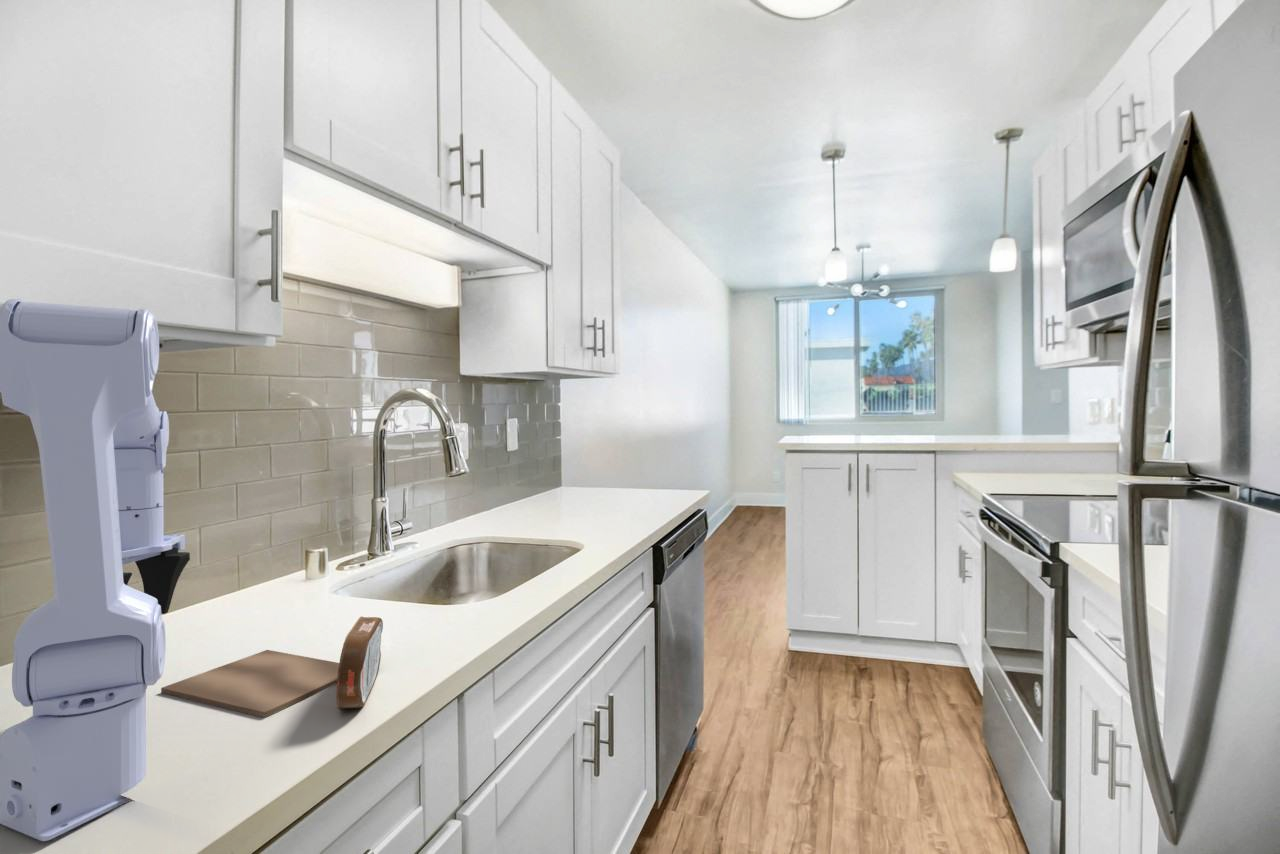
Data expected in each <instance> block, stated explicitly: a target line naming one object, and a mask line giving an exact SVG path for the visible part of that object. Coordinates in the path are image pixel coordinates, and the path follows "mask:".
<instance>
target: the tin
mask: <svg viewBox="0 0 1280 854" xmlns="http://www.w3.org/2000/svg"><path fill="white" fill-rule="evenodd" d="M383 629H384V621H383V619H382V618H381V617H377V616H375V617H373V616H372V617H371V616H370V617H369V616H368V617H364V616H359V618H358V619H357V621H355V623H354V625H353V627H352V628H351V629H350V630H349V632H348V633H347V635H346V637H345V640H344V643H343V646H342V649H341V653H340V656H339V657H340V658H339V662H338V663H339V668H338V677H337V683H336V692H335V693H336V696H335V697H336V698H335V699H336V707H337V709H338V710H340V711H341V710H343V709H359V708H363V707H364V706H365V705H366V703H367V701H368V699H369V697H370V695H371V693H372V690H373V688H374V686H375V683H376V680H377V677H378V674H379V671H380V665H381V656H382V653H381V652H382V651H381V642H382V632H383Z"/></svg>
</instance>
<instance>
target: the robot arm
mask: <svg viewBox="0 0 1280 854" xmlns="http://www.w3.org/2000/svg"><path fill="white" fill-rule="evenodd" d="M159 361H160V336H159V326H158V322H157V318H156V316H155V315H154V314H153V313H152V312H151V311H150V310H149V309H147V308H138V309H126V308H114V307H113V308H112V307H101V306H89V305H88V306H86V305H77V304H76V305H75V304H74V305H72V304H59V303H58V304H57V303H46V302H33V301H23V300H21V299H18V298H17V299H15V298H10V299H7V300H6V301H5V302H4V303H3V304H2V305H0V393H1V399H2V402H1V403H2V405H3V406H5V407H7V408H9V409H12V410H14V411H16V412H19V413H22V414H23V415H25V416H28V417H29V418H30V422H31V425H32V428H33V433H34V435H35V438H36V441H37V446H38V452H39V461H40V462H39V463H40V470H41V471H40V472H41V479H42V489H43V490H42V491H43V499H44V507H45V517H46V525H47V535H48V543H49V544H48V545H49V554H50V563H51V564H50V565H51V572H52V574H51V575H52V582H53V583H52V584H53V592H54V597H53V598H51V599H49V600H48V601H47V602H45V603H44V604H42V605H40V606H39V607H37V608H35V609H34V610H33V611H32V612H30V613H29V614H28V615H27V616H26V617H25V618H24V620H23V622H22V624H21V625H20V626H19V628H18V629H17V632H16V635H15V637H14V640H13V662H12V670H11V688H12V695H13V697H14V699H15V700H16V701H17V702H18V703H20V704H21V706H23V707H27V708H28V707H32V715H31V716H30V717H29V718H26V719H25V720H23V721H21V722H19V723H16V724H14V725H12V726H10V727H8V728H7V729H5V730H4V731H3V732H2V734H1V736H0V825H2V826H4V827H7V828H9V829H12V830H14V831H16V832H19V833H22V834H23V835H26V836H29V837H31V838H34V839H36V840H38V841H41V842H47V841H50V840H52V839H54V838H56V837H59V836H61V835H63V834H65V833H67V832H69V831H70V830H73V829H75V828H77V827H79V826H81V825H83V824H85V823H87V822H89V821H91V820H93V819H95V818H97V817H99V816H102V815H103V814H105V813H107V812H110V811H112V810H113V809H115V808H118V807H120V806H121V805H123V804H126V803H128V802H130V801H132V800H133V799H132V798H130V797H127V796H124V795H123V794H124V793H127V792H129V791H130V790H132V789H133V788H135V787H137V785H139V784H140V783H141V782H142V781H143V780H144V779H145V777H146V775H147V693H146V692H147V688H148V686H154V685H155V684H157V682H158V681H159V680H160V679H161V678H162V677H163V674H164V669H165V664H166V663H165V661H166V649H167V647H166V646H167V645H166V641H167V639H166V625H165V621H164V620H163V615H165V614H167V613H168V612H169V609H170V606H171V602H172V601H173V600H172V599H173V595H174V594H175V593H174V592H175V589H176V588H177V587H176V586H177V584H178V582H179V579H180V577H181V574H182V572H183V570H184V569H185V567H186V566H187V564H188V563H189V561H190V559H191V556H190V555H191V552H181V551H183V550H185V549H186V534H167V535H165V534H164V531H165V530H164V529H165V528H164V527H165V525H164V517H165V516H164V511H165V510H164V504H165V503H164V468H166V466H167V450H168V447H169V441H170V422H169V421H170V420H169V416H168V412H167V410H164V411H160V409H159V407H158V406H157V404H156V400H155V397H154V394H153V388H154V383H155V377H156V374H157V373H158V369H159V363H160V362H159ZM179 551H180V552H179ZM130 563H135V565H136V566H137V569H138V572H139V575H140V578H141V582H142V586H143V591H141V590H138V589H136V588H134V587H131V586H129V585H128V583H129V581H130V580H131V577H132V575H133V573H132V572H131V571H129V572H124V570H123V569H124V568H123V566H124V565H127V564H130Z"/></svg>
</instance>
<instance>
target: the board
mask: <svg viewBox="0 0 1280 854" xmlns="http://www.w3.org/2000/svg"><path fill="white" fill-rule="evenodd" d="M338 668H339V662H337V661H332V660H331V661H330V660H325V659H321V658H320V659H319V658H313V657H308V656H302V655H298V654H292V653H287V652H282V651H281V652H280V651H275V650H270V649H265V650H263V651H260V652H258V653H254V654H252V655H248V656H246V657H243V658H241V659H238V660H234V661H231V662H230V663H227V664H224V665H221V666H218V667H215V668H213V669H209V670H208V671H204V672H201V673H198V674H196V675H193V676H191V677H187V678H185V679H182V680H180V681H176V682H174V683H171V684H168V685H165V686H163V687H161V689H160V692H161V694H165V695H169V696H173V697H177V698H182V699H186V700H190V701H194V702H198V703H202V704H207V705H211V706H216V707H220V708H223V709H226V710H232V711H234V712H235V711H236V712H240V713H244V714H249V715H253V716H257V717H261V718H268V717H270V716H272V715H274V714H276V713H279V712H280V711H283V710H285V709H287V708H289V707H291V706H293V705H295V704H298V703H300V702H302V701H303V700H304V701H305V700H306V699H308V698H310V697H312V696H315V695H317V694H318V693H321V692H322V691H325V690H326V689H329V688H330V687H332V686H334V685H337V677H338Z"/></svg>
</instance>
